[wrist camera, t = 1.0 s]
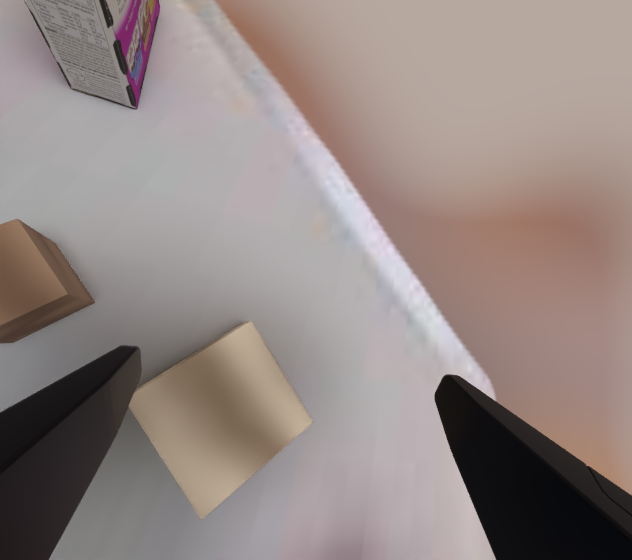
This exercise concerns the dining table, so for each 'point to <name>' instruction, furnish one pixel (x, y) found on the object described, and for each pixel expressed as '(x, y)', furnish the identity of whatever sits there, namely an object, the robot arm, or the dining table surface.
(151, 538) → the dining table surface
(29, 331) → the walnut cube
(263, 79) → the dining table surface
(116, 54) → the candy bar box
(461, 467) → the robot arm
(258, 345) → the maple base block
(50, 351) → the dining table surface
